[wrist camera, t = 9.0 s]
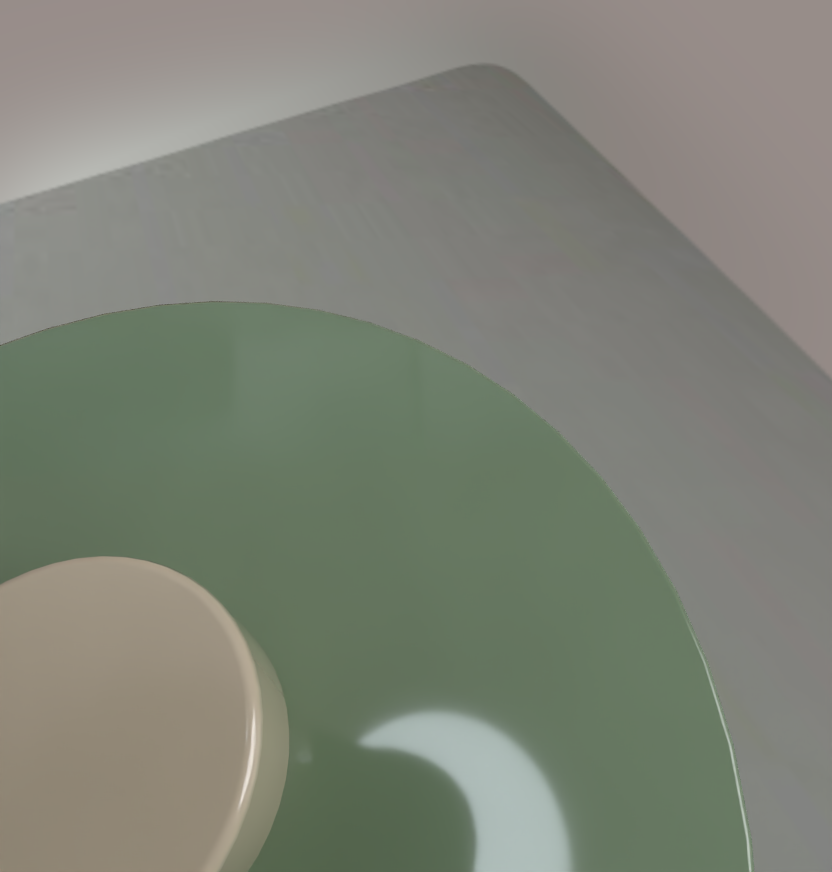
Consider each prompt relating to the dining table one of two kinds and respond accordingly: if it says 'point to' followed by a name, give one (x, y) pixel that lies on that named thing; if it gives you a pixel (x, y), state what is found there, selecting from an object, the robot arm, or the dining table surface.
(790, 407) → the dining table surface
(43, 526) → the canister
